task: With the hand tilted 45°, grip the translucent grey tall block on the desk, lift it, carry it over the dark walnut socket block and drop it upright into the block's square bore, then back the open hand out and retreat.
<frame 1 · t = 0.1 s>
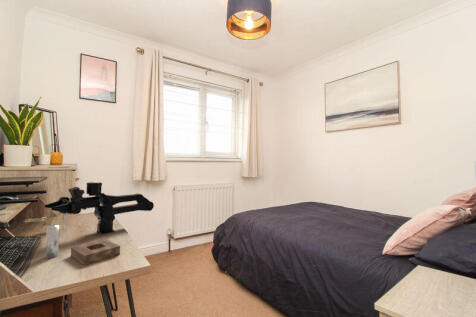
hand: (47, 207, 104), 17 cm above the table, tool horizontal, fingers open, 9 cm apart
socket block: (95, 255, 92), on the table
lollipop: (64, 229, 127), on the table
translucent grey tall block: (52, 256, 91), on the table
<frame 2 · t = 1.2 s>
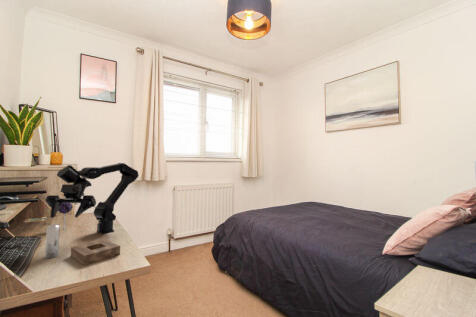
hand: (63, 217, 98), 14 cm above the table, tool tilted 45°, fingers open, 9 cm apart
nothing on the table moved.
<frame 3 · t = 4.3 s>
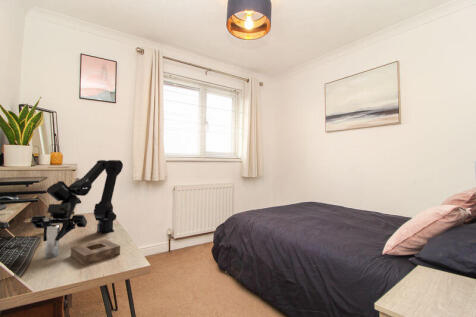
hand: (50, 240, 89), 7 cm above the table, tool tilted 45°, fingers closed on translucent grey tall block, 4 cm apart
translucent grey tall block: (52, 256, 91), on the table, touching gripper
everything else where it was.
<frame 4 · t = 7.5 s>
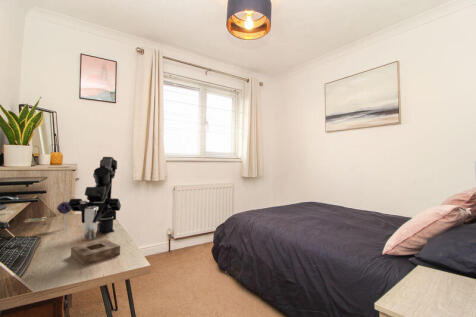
hand: (88, 222, 91), 14 cm above the table, tool tilted 45°, fingers closed on translucent grey tall block, 4 cm apart
translucent grey tall block: (89, 238, 92), point 7 cm above the table, touching gripper
everything else where it was.
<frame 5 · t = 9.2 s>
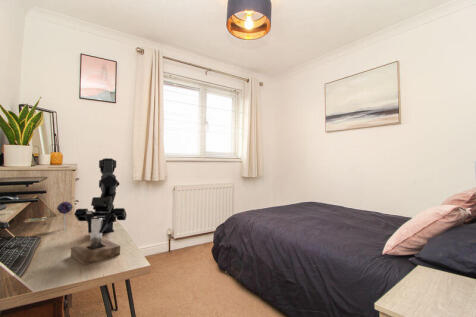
hand: (95, 232, 91), 9 cm above the table, tool tilted 45°, fingers closed on translucent grey tall block, 4 cm apart
translucent grey tall block: (95, 248, 93), point 3 cm above the table, touching gripper
everything else where it was.
when the fingers open (8 cm above the table, at t = 10.5 s): translucent grey tall block drops 1 cm, resting in socket block.
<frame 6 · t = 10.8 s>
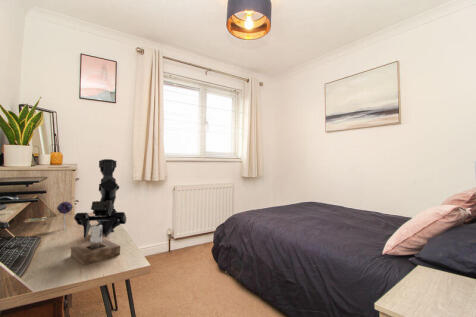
hand: (95, 237, 91), 8 cm above the table, tool tilted 45°, fingers open, 7 cm apart
translucent grey tall block: (95, 255, 92), resting in socket block
everything else where it was.
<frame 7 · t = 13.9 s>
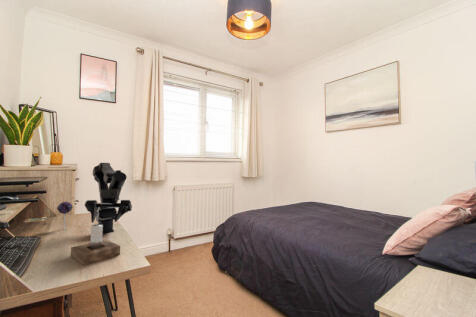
hand: (103, 221, 100), 12 cm above the table, tool tilted 45°, fingers open, 9 cm apart
nothing on the table moved.
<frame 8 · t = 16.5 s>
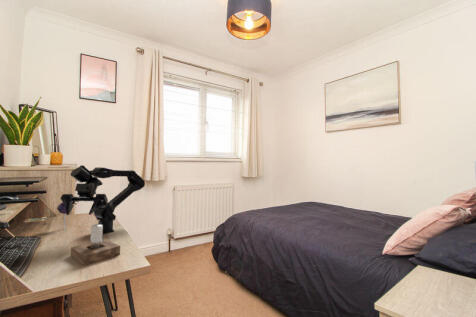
hand: (78, 214, 104), 14 cm above the table, tool tilted 45°, fingers open, 9 cm apart
nothing on the table moved.
at the end: translucent grey tall block 0.1 cm off-centre on the socket block, point 0.0 cm above the socket block's base; translucent grey tall block tilted 0°; the gripper is holding nothing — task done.
